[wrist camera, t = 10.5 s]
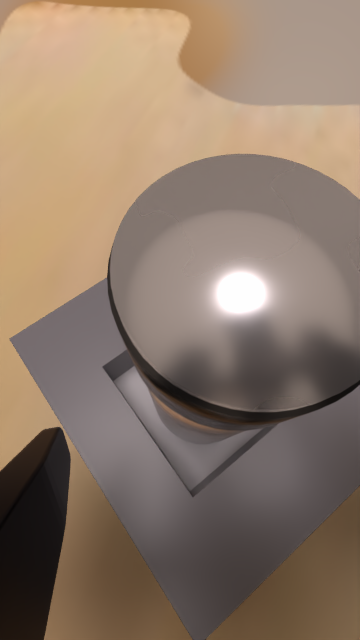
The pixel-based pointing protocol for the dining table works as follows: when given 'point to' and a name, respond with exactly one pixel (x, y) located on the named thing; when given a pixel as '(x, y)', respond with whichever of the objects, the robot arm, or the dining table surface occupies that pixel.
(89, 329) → the square plate with hole
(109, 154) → the dining table surface
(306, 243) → the shiny metal cylinder
